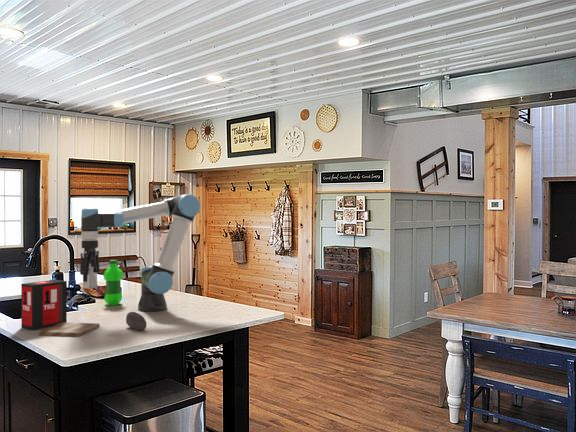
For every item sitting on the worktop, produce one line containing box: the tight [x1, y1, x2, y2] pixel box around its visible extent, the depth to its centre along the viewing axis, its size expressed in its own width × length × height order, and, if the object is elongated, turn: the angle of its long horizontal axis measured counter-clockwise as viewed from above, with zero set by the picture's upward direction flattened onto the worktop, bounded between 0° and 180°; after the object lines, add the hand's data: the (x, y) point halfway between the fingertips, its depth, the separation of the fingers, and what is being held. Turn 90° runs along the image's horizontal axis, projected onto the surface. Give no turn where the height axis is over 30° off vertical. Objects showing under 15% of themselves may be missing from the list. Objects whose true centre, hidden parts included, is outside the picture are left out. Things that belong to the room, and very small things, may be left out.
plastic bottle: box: [103, 259, 124, 306], centre depth 285 cm, size 10×10×25 cm
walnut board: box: [38, 322, 100, 337], centre depth 222 cm, size 18×18×2 cm
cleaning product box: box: [20, 279, 68, 331], centre depth 231 cm, size 16×9×20 cm, turn 148°
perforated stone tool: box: [125, 311, 147, 332], centre depth 226 cm, size 15×5×7 cm, turn 41°
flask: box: [88, 266, 99, 289], centre depth 245 cm, size 7×7×10 cm
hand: (90, 286), depth 245 cm, fingers closed on flask, 7 cm apart
